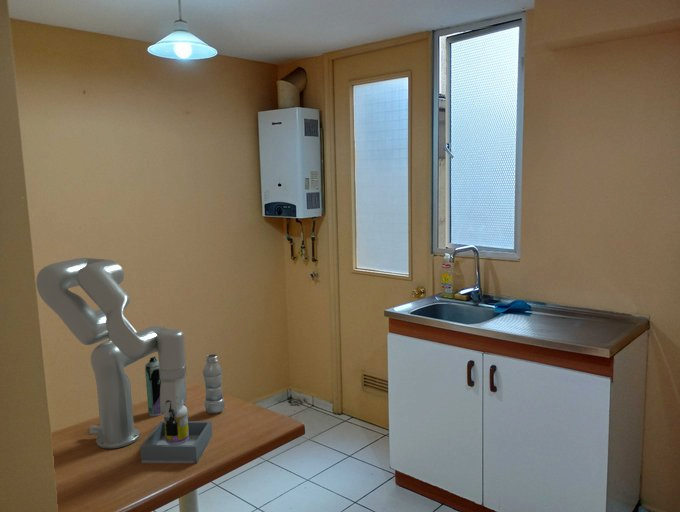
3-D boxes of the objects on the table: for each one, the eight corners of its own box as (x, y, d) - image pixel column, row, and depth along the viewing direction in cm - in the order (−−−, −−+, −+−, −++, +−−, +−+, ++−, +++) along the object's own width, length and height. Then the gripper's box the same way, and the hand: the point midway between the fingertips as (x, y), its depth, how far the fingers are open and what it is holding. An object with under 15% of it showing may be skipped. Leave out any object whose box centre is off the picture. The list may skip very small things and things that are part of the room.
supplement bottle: (160, 442, 164) (158, 401, 162) (177, 433, 169) (175, 393, 167) (177, 448, 160) (174, 406, 158) (193, 438, 166) (191, 397, 164)
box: (141, 462, 157) (140, 446, 157) (161, 436, 173) (160, 421, 173) (196, 463, 157) (195, 446, 156) (212, 436, 173) (211, 421, 172)
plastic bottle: (220, 416, 187) (217, 359, 184) (201, 415, 188) (198, 358, 185) (227, 408, 193) (225, 353, 190) (209, 407, 194) (206, 352, 191)
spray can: (162, 416, 188) (158, 359, 185) (146, 416, 188) (141, 360, 185) (167, 409, 193) (163, 354, 190) (151, 409, 193) (147, 354, 190)
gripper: (170, 361, 170) (174, 416, 173) (148, 383, 153) (153, 443, 156) (194, 361, 170) (197, 416, 173) (175, 383, 153) (179, 443, 155)
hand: (176, 429), depth 164 cm, fingers closed on supplement bottle, 6 cm apart
